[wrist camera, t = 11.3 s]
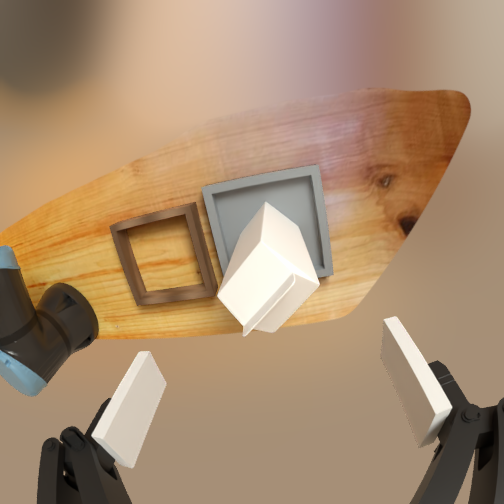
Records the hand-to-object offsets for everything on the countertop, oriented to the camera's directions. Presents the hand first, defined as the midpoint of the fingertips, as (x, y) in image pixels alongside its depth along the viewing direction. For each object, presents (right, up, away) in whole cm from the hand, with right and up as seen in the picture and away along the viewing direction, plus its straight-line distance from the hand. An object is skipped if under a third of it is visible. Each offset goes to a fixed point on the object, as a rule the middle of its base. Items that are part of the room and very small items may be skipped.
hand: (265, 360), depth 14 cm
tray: (+2, +9, +26) cm, 28 cm away
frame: (-14, +5, +29) cm, 33 cm away
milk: (+2, +9, +26) cm, 27 cm away
